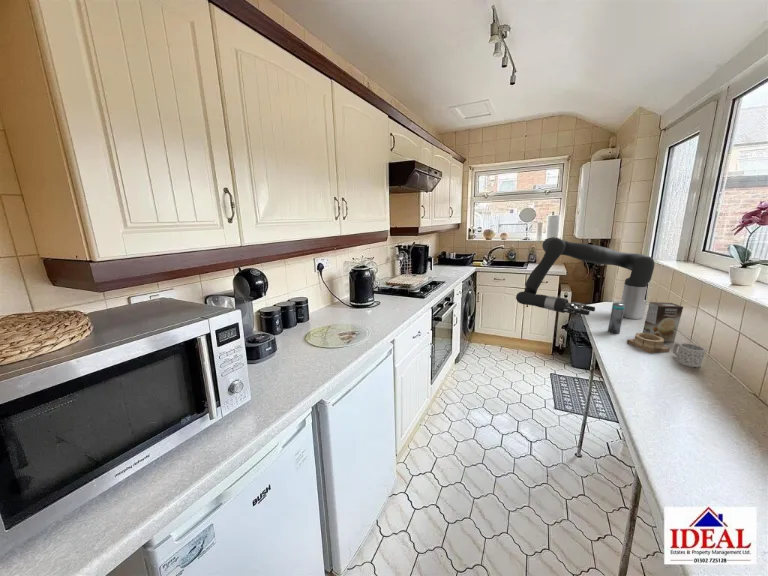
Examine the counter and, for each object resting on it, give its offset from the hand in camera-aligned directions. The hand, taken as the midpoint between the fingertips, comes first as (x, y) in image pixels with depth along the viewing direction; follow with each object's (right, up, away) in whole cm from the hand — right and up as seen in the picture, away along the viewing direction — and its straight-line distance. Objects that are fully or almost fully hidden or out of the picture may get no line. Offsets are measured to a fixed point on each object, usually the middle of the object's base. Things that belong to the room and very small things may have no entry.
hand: (592, 311), depth 145 cm
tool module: (+7, -9, -5) cm, 13 cm away
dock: (+9, -13, -20) cm, 26 cm away
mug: (+12, -17, -32) cm, 38 cm away
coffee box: (+20, -11, -13) cm, 27 cm away
